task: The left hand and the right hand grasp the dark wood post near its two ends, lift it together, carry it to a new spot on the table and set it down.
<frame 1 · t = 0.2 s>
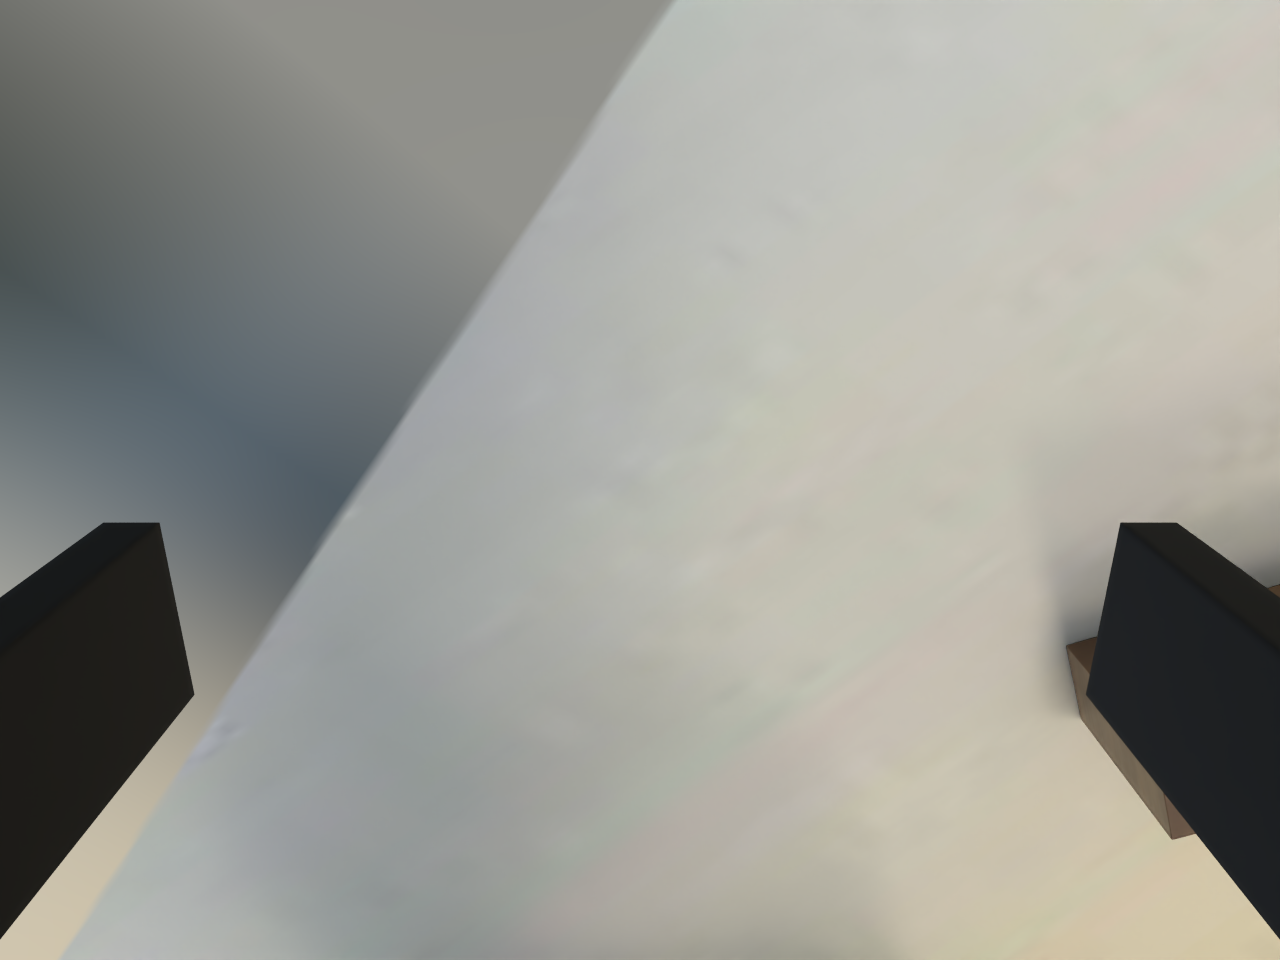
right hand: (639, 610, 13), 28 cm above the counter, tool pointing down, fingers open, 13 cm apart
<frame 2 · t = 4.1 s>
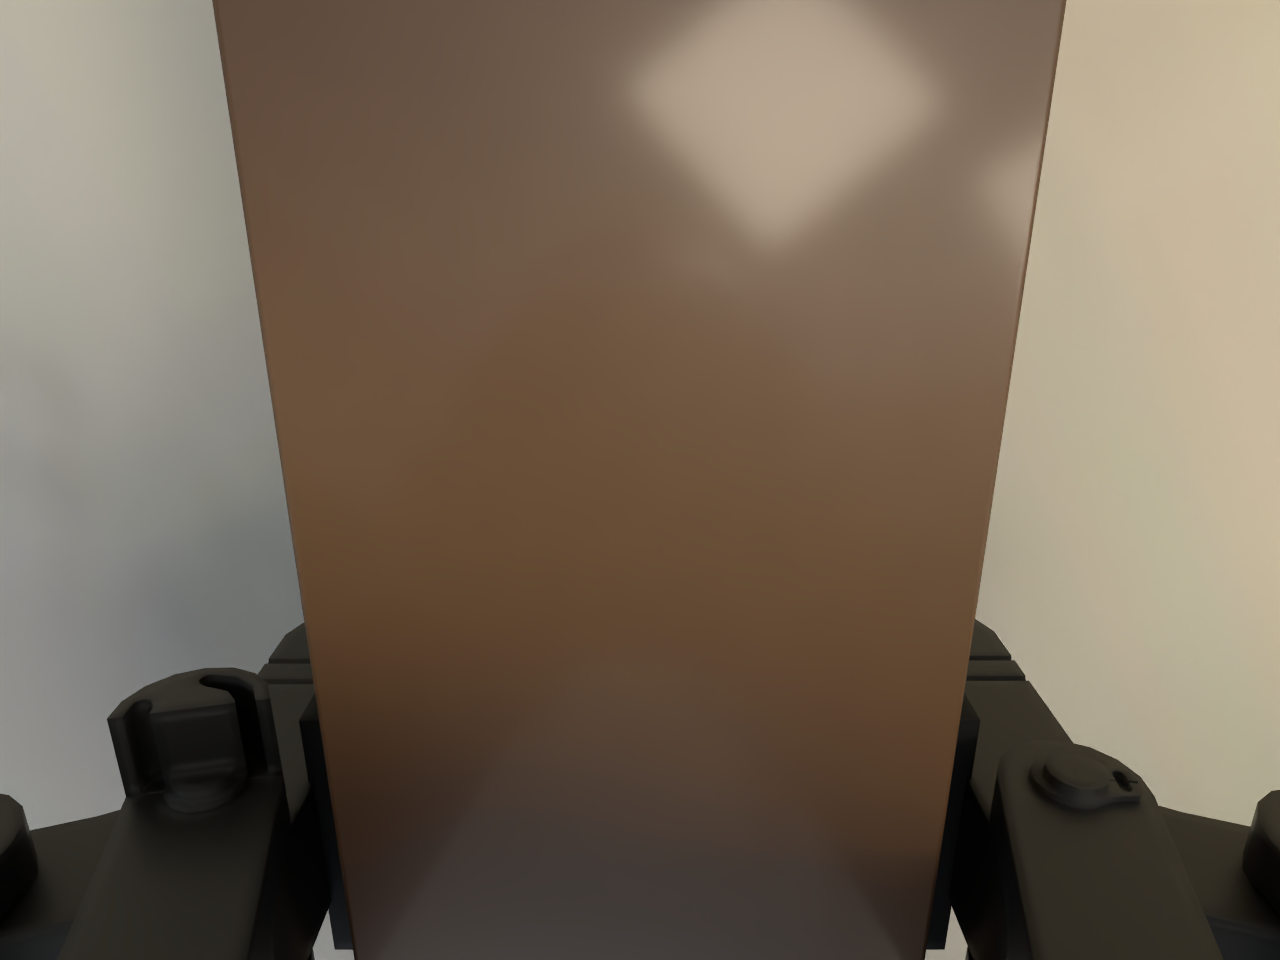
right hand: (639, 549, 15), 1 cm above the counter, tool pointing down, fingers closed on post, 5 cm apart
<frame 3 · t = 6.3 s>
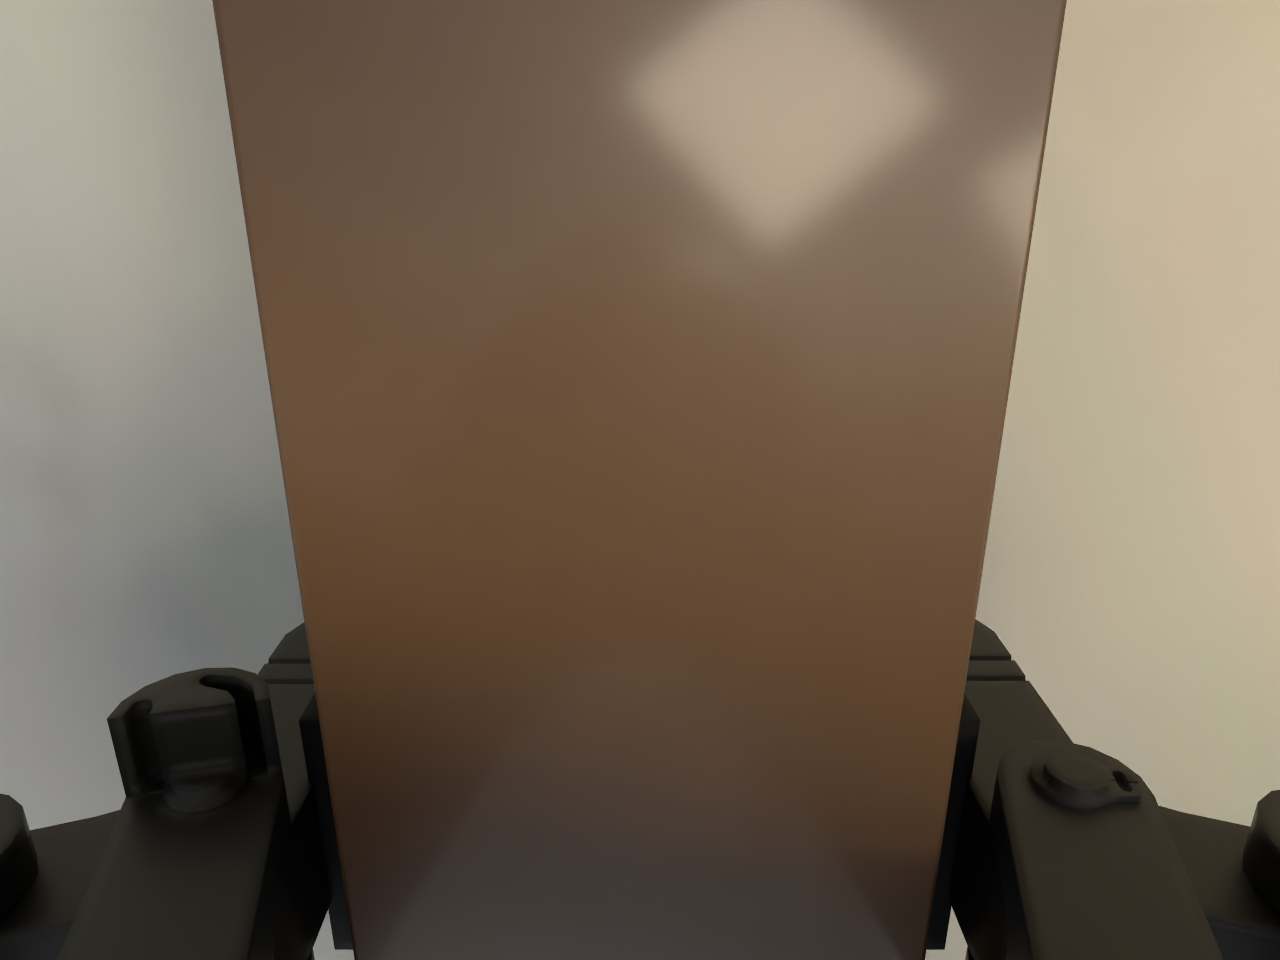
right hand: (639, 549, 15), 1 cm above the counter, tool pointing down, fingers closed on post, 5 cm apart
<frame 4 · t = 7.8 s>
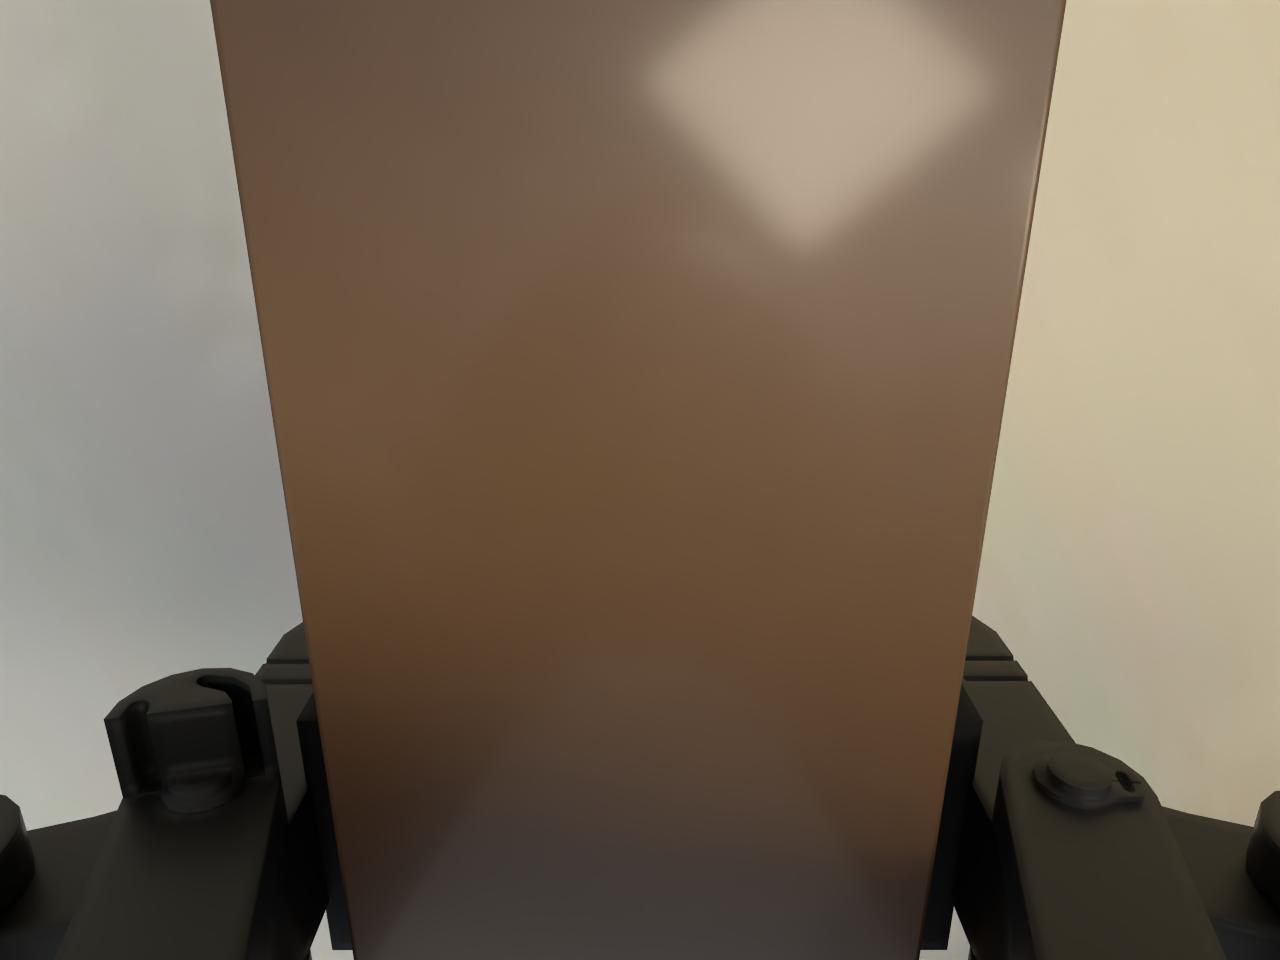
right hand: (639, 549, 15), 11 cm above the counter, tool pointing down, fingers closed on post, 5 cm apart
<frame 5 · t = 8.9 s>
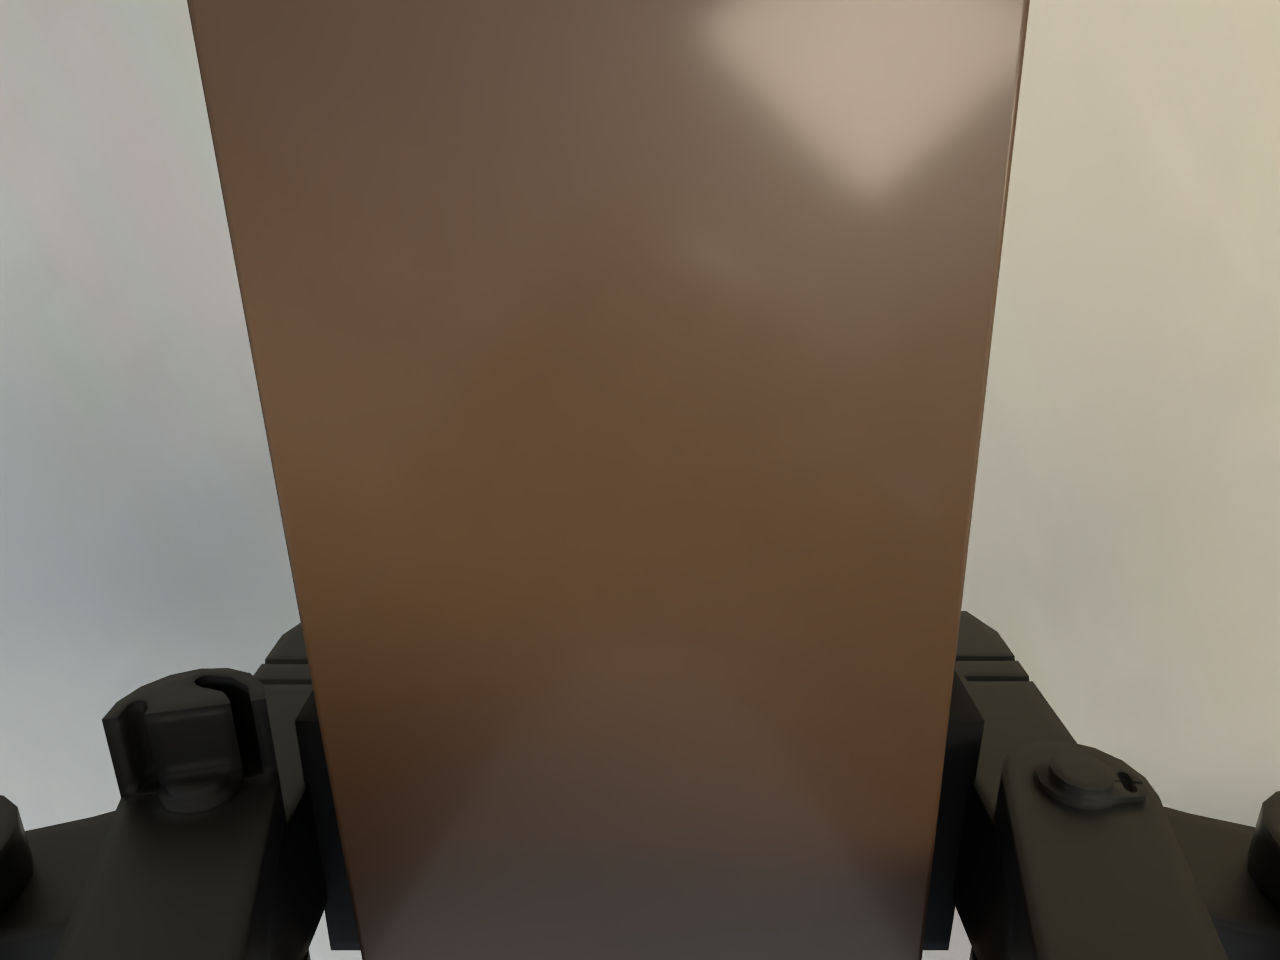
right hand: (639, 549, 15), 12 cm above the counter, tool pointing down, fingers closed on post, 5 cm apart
when the right hand's fingers open (2 cm above the counter, at t = 11.5 s): post drops 1 cm, on the counter.
when the left hand's fingers open (4 cm above the counter, at t = 11.6 s): post stays where it is, on the counter.
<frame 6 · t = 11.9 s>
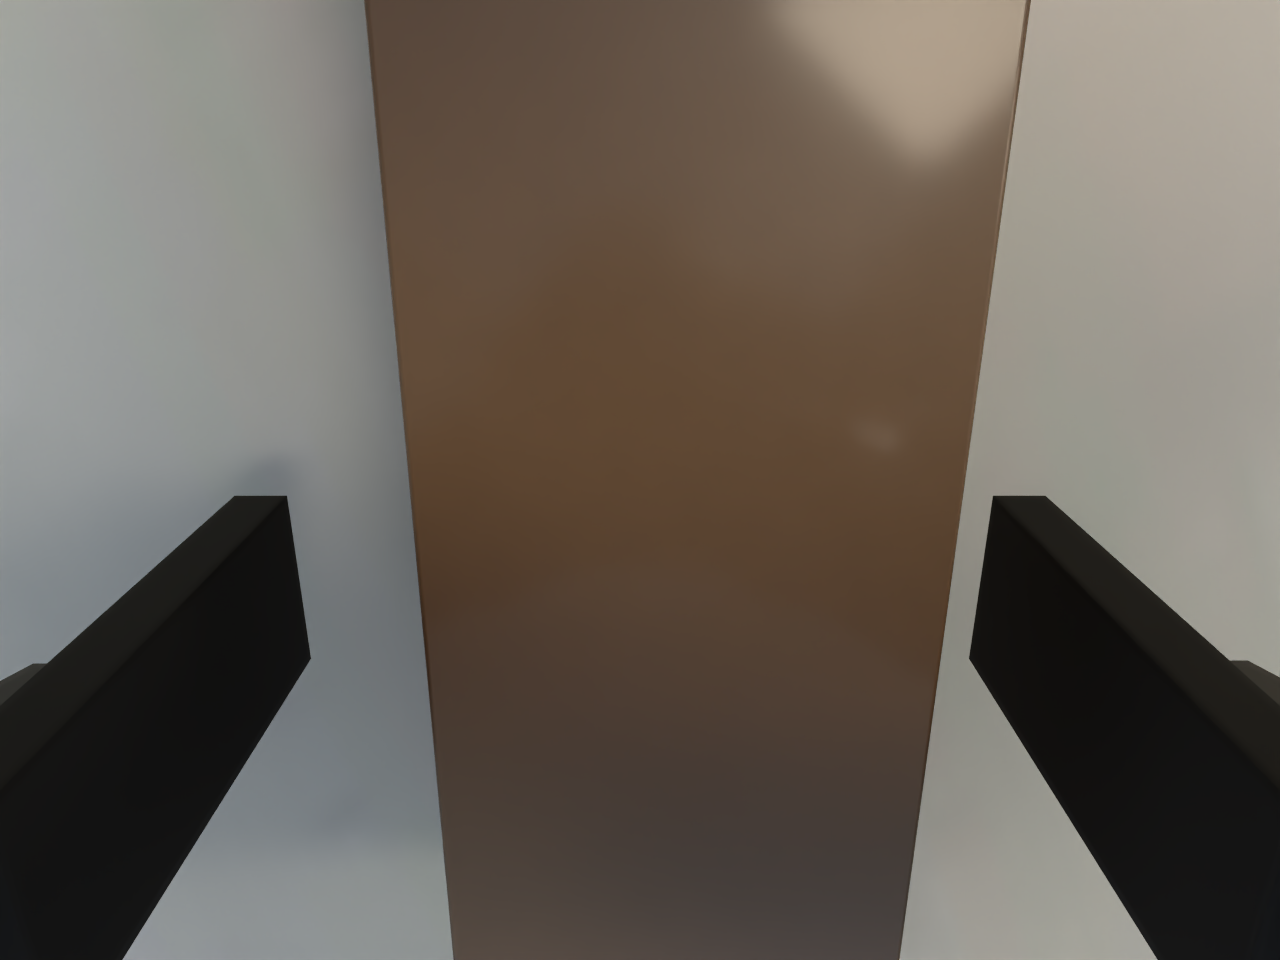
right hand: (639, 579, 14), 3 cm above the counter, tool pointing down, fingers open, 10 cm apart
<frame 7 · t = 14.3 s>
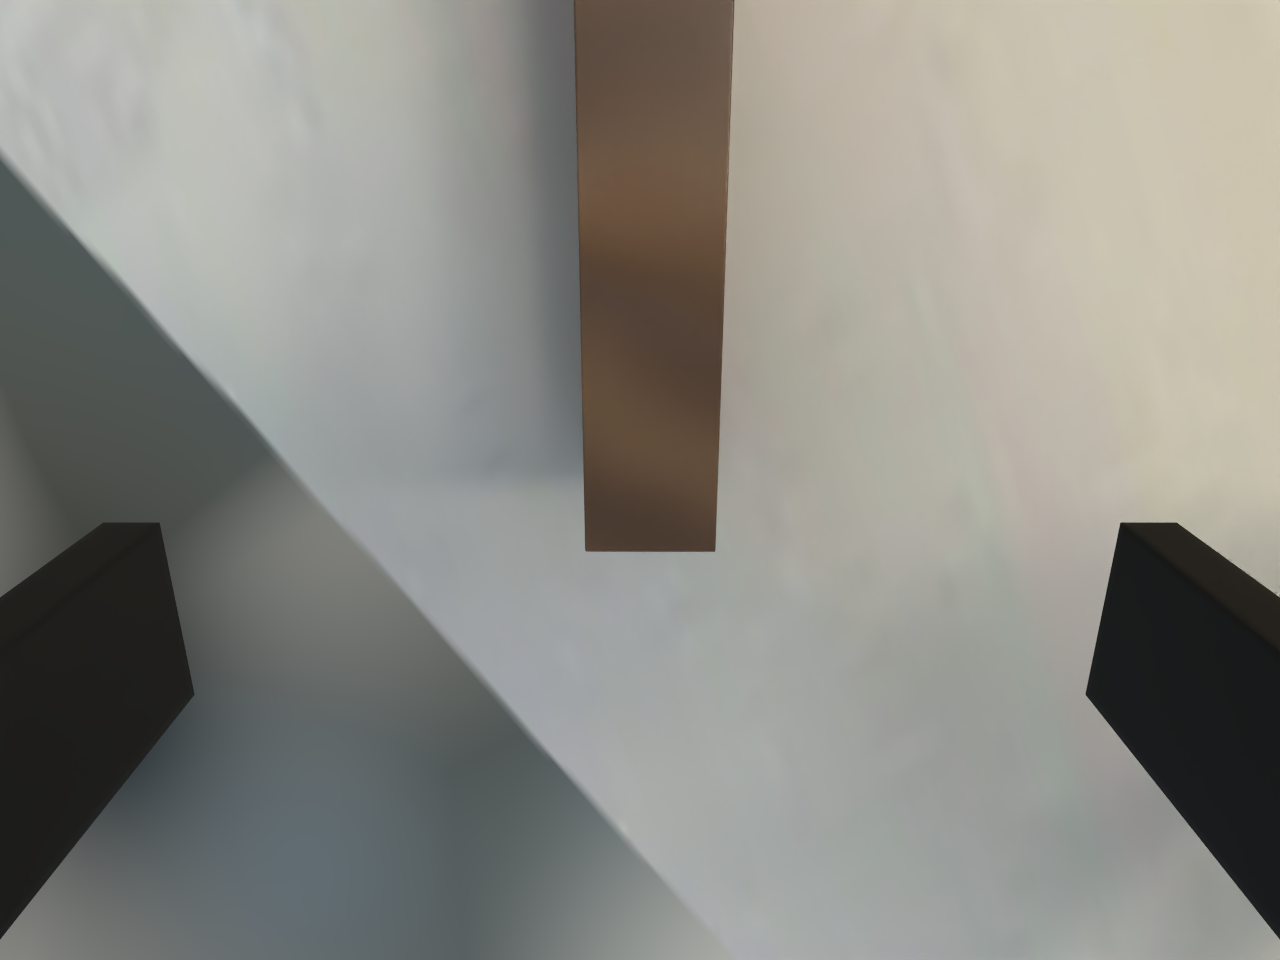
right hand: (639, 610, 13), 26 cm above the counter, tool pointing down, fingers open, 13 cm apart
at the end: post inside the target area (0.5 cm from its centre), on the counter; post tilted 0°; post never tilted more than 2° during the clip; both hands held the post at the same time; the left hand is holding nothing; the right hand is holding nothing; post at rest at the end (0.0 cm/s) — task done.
